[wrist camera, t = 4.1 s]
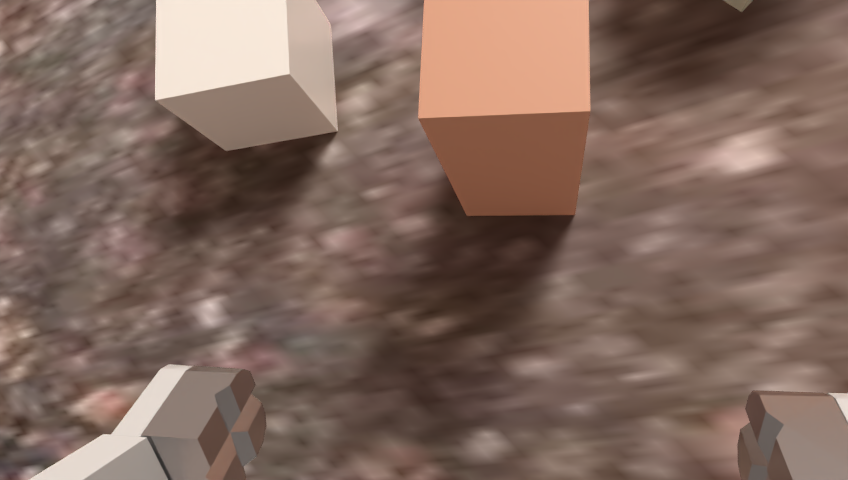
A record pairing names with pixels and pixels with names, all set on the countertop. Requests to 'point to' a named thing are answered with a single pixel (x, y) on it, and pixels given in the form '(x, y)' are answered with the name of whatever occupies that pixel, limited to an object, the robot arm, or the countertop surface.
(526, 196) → the terracotta post
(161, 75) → the ceramic block
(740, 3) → the sage block
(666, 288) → the countertop surface
